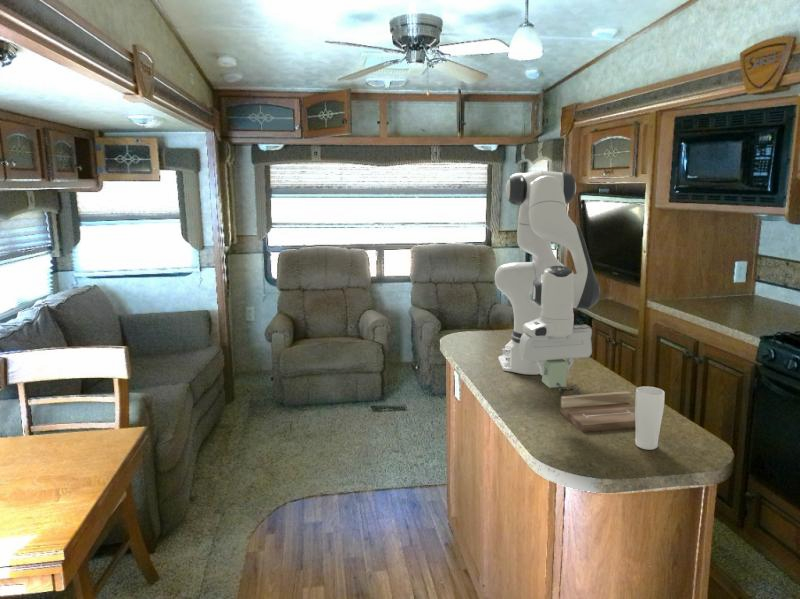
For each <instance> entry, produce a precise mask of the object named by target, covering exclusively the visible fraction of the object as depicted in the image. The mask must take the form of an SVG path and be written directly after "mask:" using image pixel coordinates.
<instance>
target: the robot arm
mask: <svg viewBox="0 0 800 599" xmlns="http://www.w3.org/2000/svg"><path fill="white" fill-rule="evenodd" d="M576 192H577V183H576V179H575V176H574V175H573V174H572V173H571V172H567V171H561V172H558V171H552V170H541V171H530V172H529V171H528V172H516V173H513V174H511V175H510V176H509V177H508V180H507V182H506V184H505V194H506V198H507V200H508V202H509V203H510V204H512V205H514V206H519V210H518V221H517V236H516V237H517V238H516V239H517V240H516V242H517V246H518V247H519V248H520V250H522V251H524V252H525V253H527V254H530V255H532V261H525V262H524V261H523V262H521V261H520V262H518V261H515V262H508V263H504V264H501V265H499V266H498V267H497V269H496V271H495V272H494V273H495V274H494V283H495V286H496V288H497V289H498V290H499V291H500V292H501V293H502V294H504V295H505V296H506V297H507V299H508V300H509V301H510V304H511V306H512V310H513V311H512V312H513V329H512V332H511V337H510V338H511V339H510V341H509V342H508V343H506V344H505V346H504V348H502V350H501V354H502V355H499V356H498V362H499V364H500V366H501V368H502V370H503V371H505V372H512V373H517V374H520V375H521V374H522V375H533V376H534V375H540V376H542V375H547V369H546V368H545V367H543V364H544V360H557V359H564V360H565V361H566V362H567V375H569V373H570V368H571V367H572V365H573V364H574V359H585V358H589V357H590V356H591V355H592V352H593V349H592V348H593V346H592V334H593V330H592V327H591V326H590V325H587V324H574V321H575V320H574V318H575V317H574V316H575V314H574V308H575V309H583V310H589V309H591V308H592V307H594V306H595V305H596V304H597V303H598V302H599V300H600V298H601V297H600V296H601V295H600V294H601V288H600V285H599V280H598V277H597V276H596V274H595V271H594V268H593V265H592V262H591V258H590V255H589V250H588V248H587V244H586V241H585V238H584V235H583V232H582V229H581V227H580V226H579V225H578V224H577V223H574V221H573V220H572V219H571V218H570V216H569V213H568V211H567V205H568V204H570V203H571V202H572V201H573V200H574V199H575V195H576ZM552 243H554V244H558V245H560V246H562V247H564V248H566V249H567V250H568V251H569V253H570V254H571V258H572V262H573V264H574V268H575V271H576V273H574V271H573V269H571V268H570V267H568V266H565V265H564V264H563V263H562V262H560V261H559V260H558V258H557V257H556V256H555V254H554V252H553V249H552ZM531 295H532V296H531ZM531 298H532V299H531Z"/></svg>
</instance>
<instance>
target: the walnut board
mask: <svg viewBox="0 0 800 599" xmlns="http://www.w3.org/2000/svg"><path fill="white" fill-rule="evenodd" d="M630 399H631V392H630V391H628V390H627V391H626V390H625V391H613V392H603V393H602V392H600V393H589V394H588V393H587V394H585V393H584V394H580V395H576V394H575V395H573V394H572V395H566V396H560V410H559V411H560V412H561V413H560V414H561V415H563V416H564V417H565V418H566V419H567V420H568V421H569V422H570V423H571V424H573V425H574V426H575V427H576V428H577V429H578V430H579V431H581V433H586V432H587V433H588V432H589V433H590V432H600V431H610V430H621V429H632V428H633V429H634V428H635V404H634V405H633V404H632V403H631V402H630V401H631V400H630Z"/></svg>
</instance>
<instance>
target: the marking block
mask: <svg viewBox="0 0 800 599" xmlns="http://www.w3.org/2000/svg"><path fill="white" fill-rule="evenodd" d="M543 367H545V368H546V369H547V375H541V382H542V383H543V384H544V385H546V386H547V387H548V388H549V389H550V388H557V387H561V388H566V387H567V378H568V376H567V375H568V374H567V360H566V359H557V360H544V364H543Z"/></svg>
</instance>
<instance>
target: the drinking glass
mask: <svg viewBox="0 0 800 599" xmlns="http://www.w3.org/2000/svg"><path fill="white" fill-rule="evenodd" d="M665 394H666V393H665V391H664V390H663V389H661V388H660V387H659V388H658V387H655V386H648V385H647V386H639V387H636V388H635V397H634V398H635V399H634V406H635V443H634V444H635V446H637V447H638V448H639V449H642V450H646V451H648V450H649V451H650V450H651V451H652V450H656V449H657V448H658V444H659V438H660V437H659V436H660V430H661V425H662V420H663V419H662V418H663V416H664V409H665V408H664V407H665V399H666V398H665V397H666V396H665Z"/></svg>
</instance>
